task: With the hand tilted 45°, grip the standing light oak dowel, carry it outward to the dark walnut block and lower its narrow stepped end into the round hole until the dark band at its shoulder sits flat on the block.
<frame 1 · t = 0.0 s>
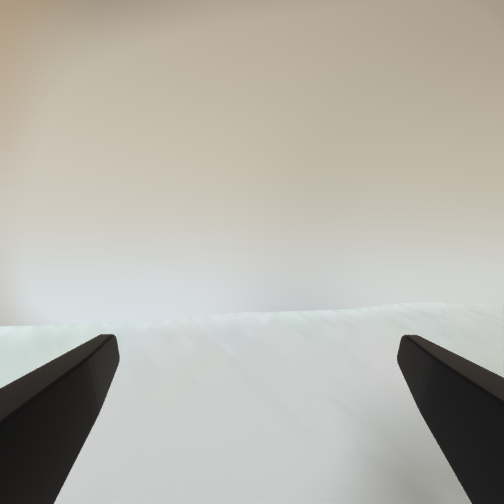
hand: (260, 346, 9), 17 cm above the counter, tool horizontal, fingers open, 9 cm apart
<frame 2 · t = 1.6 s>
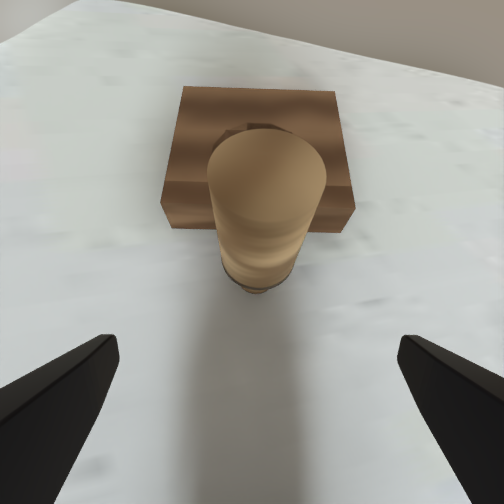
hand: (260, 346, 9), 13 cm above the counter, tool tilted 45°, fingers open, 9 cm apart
dowel: (256, 274, 24), on the counter
seat block: (257, 184, 29), on the counter
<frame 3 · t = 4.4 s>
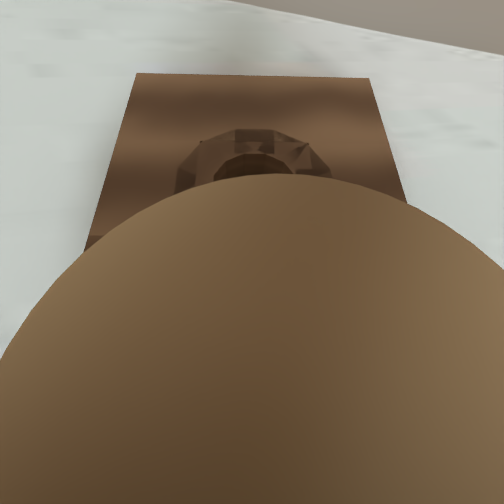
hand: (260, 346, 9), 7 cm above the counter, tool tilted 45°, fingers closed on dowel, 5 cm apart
dowel: (253, 392, 14), on the counter, touching gripper
seat block: (252, 224, 18), on the counter
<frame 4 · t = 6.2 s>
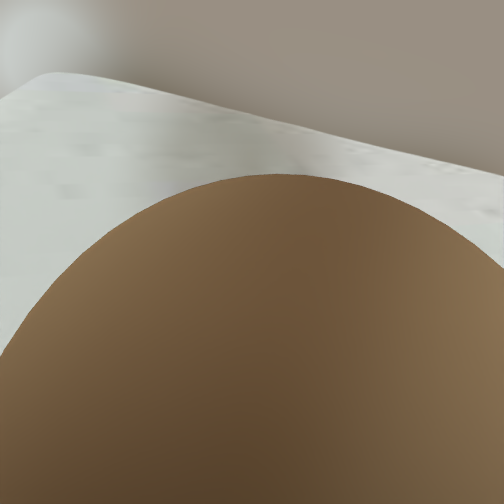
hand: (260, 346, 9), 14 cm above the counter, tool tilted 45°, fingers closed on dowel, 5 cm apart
dowel: (253, 393, 14), point 8 cm above the counter, touching gripper
when the fingers open (7 cm above the counter, at t = 8.3 s): dowel stays where it is, resting on seat block.
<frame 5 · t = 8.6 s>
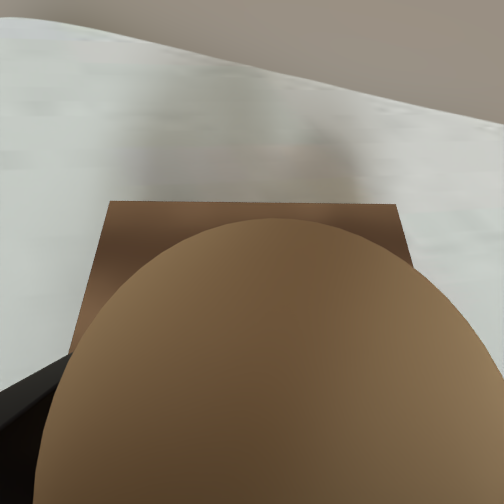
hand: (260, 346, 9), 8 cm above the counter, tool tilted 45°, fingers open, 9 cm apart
dowel: (253, 393, 15), resting on seat block
seat block: (253, 391, 15), on the counter
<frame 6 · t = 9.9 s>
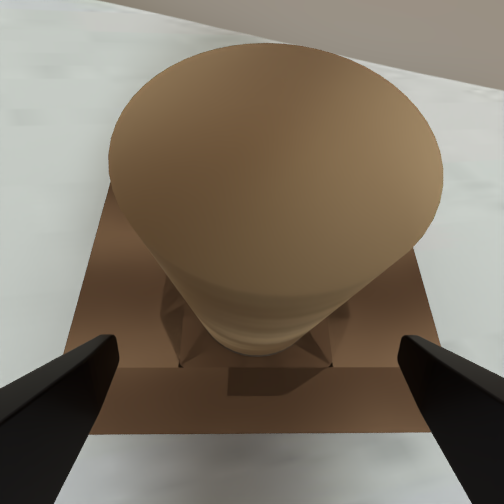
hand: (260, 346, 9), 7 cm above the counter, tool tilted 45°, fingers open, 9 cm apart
dowel: (253, 313, 16), resting on seat block
seat block: (253, 312, 16), on the counter
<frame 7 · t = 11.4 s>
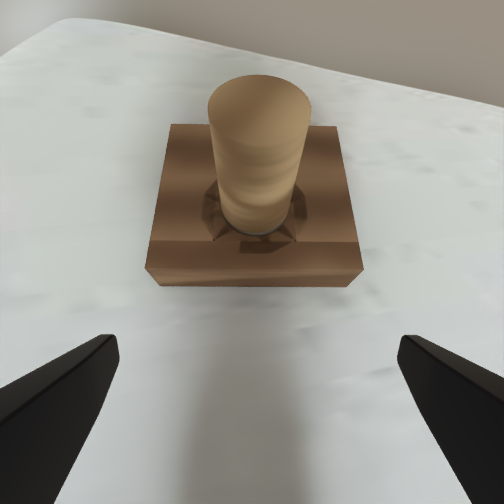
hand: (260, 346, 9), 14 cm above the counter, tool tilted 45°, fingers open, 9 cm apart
dowel: (253, 231, 26), resting on seat block
seat block: (253, 231, 26), on the counter
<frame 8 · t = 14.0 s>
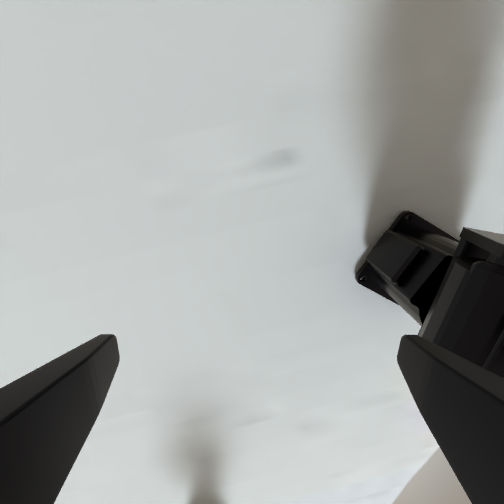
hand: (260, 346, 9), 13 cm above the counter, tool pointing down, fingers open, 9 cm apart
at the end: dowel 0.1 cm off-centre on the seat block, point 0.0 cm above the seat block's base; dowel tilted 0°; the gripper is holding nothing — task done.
